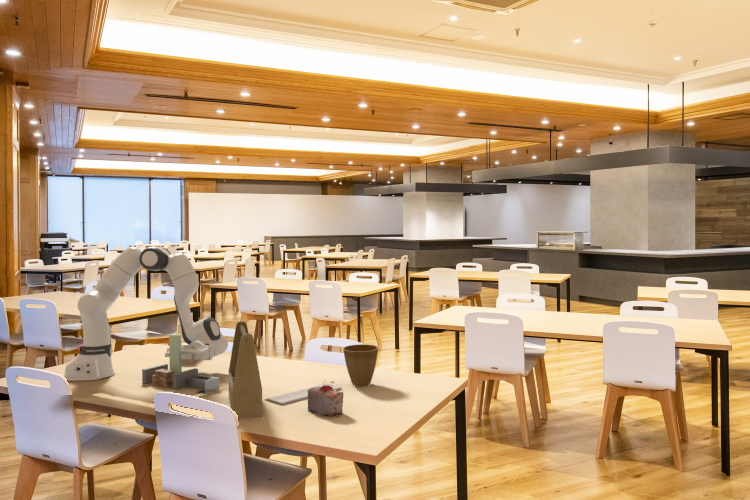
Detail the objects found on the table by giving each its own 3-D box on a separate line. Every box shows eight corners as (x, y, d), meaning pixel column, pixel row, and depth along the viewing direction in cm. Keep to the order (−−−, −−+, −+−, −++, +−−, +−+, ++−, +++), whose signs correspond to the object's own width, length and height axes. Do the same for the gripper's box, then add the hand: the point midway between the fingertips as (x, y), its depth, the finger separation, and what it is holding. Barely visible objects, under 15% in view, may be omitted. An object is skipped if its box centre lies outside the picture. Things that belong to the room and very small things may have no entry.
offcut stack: (176, 385, 250) (176, 370, 250) (167, 387, 246) (166, 373, 246) (161, 382, 254) (160, 368, 254) (151, 384, 250) (151, 370, 250)
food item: (346, 413, 217) (346, 386, 216) (332, 419, 210) (332, 391, 210) (319, 406, 225) (318, 380, 225) (304, 411, 219) (304, 385, 218)
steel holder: (219, 389, 249) (219, 377, 249) (205, 393, 242) (205, 381, 242) (201, 386, 254) (201, 374, 254) (187, 390, 247) (187, 378, 247)
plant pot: (357, 378, 267) (357, 342, 266) (384, 383, 258) (384, 346, 257) (336, 385, 254) (336, 348, 254) (364, 391, 246) (364, 352, 245)
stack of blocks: (193, 363, 297) (192, 338, 297) (180, 363, 296) (179, 339, 296) (200, 354, 318) (200, 331, 318) (188, 354, 318) (188, 331, 317)
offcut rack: (198, 386, 253) (198, 368, 253) (176, 393, 243) (175, 374, 243) (164, 380, 263) (164, 363, 263) (142, 386, 253) (142, 369, 252)
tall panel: (181, 382, 255) (181, 335, 254) (179, 382, 254) (178, 335, 253) (172, 380, 258) (172, 334, 257) (169, 381, 256) (169, 334, 256)
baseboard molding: (262, 400, 235) (281, 407, 226) (262, 393, 235) (281, 399, 226) (322, 385, 257) (341, 390, 249) (322, 378, 257) (341, 383, 249)
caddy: (262, 416, 213) (262, 332, 212) (232, 419, 210) (231, 334, 209) (255, 394, 241) (254, 320, 240) (227, 397, 238) (227, 321, 237)
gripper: (181, 341, 271) (156, 346, 259) (214, 345, 261) (190, 351, 249) (181, 355, 272) (156, 361, 260) (214, 360, 262) (191, 366, 250)
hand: (173, 356), depth 254 cm, fingers open, 8 cm apart
